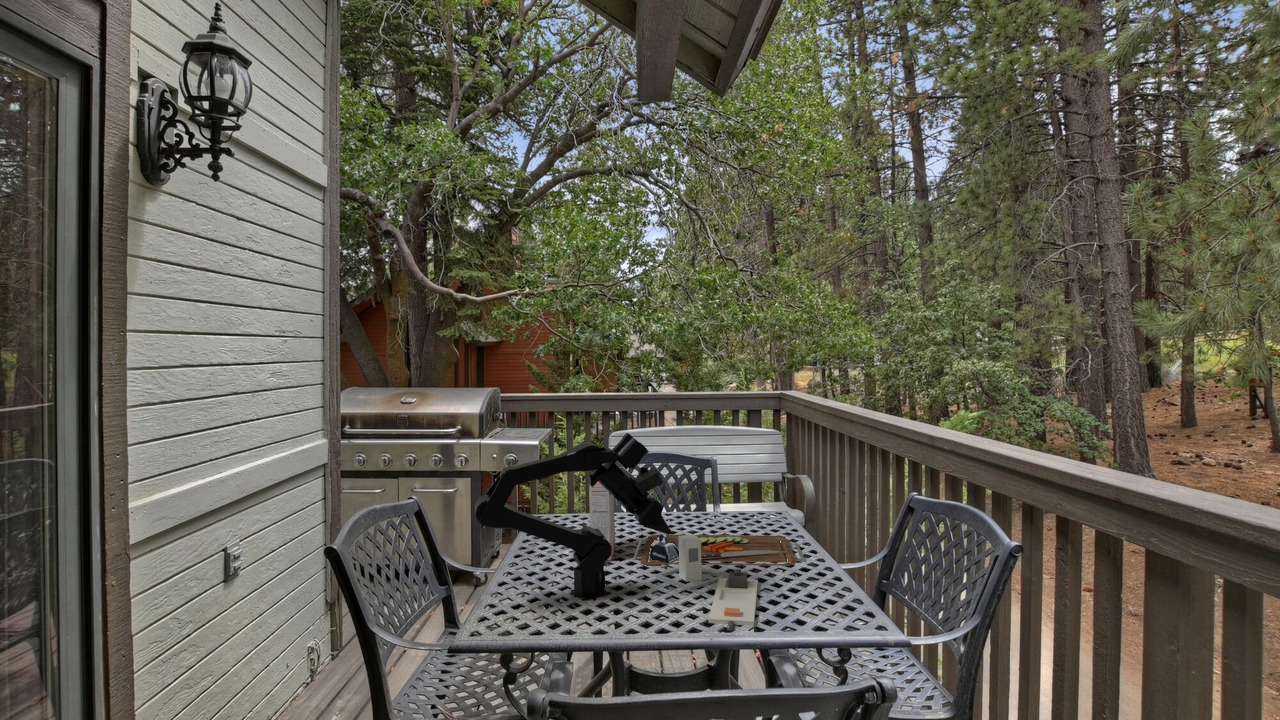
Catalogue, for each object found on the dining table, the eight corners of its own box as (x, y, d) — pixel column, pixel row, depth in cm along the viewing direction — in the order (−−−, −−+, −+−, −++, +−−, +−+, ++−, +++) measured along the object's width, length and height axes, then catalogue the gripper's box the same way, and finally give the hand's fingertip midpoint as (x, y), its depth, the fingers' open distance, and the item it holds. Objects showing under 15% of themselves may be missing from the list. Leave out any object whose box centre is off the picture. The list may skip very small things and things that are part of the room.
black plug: (746, 591, 152) (745, 573, 152) (728, 590, 153) (728, 572, 153) (746, 585, 156) (746, 567, 156) (729, 584, 157) (729, 567, 157)
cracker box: (594, 546, 191) (593, 472, 191) (615, 545, 191) (614, 472, 191) (589, 561, 177) (587, 483, 177) (612, 561, 177) (610, 482, 177)
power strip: (753, 636, 131) (753, 623, 131) (707, 632, 133) (706, 620, 132) (757, 586, 157) (757, 576, 157) (719, 584, 159) (719, 574, 159)
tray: (689, 593, 153) (689, 587, 153) (655, 580, 163) (655, 574, 163) (726, 581, 161) (725, 575, 161) (691, 569, 170) (691, 563, 170)
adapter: (686, 583, 159) (685, 541, 159) (679, 576, 164) (678, 535, 163) (701, 581, 160) (701, 539, 160) (694, 574, 165) (693, 534, 165)
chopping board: (794, 540, 195) (794, 529, 195) (808, 571, 169) (808, 559, 169) (640, 538, 200) (640, 528, 200) (630, 568, 173) (630, 556, 173)
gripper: (654, 465, 149) (700, 511, 152) (631, 451, 166) (673, 493, 170) (619, 503, 147) (667, 549, 150) (600, 485, 165) (643, 526, 168)
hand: (663, 527), depth 160 cm, fingers open, 9 cm apart
